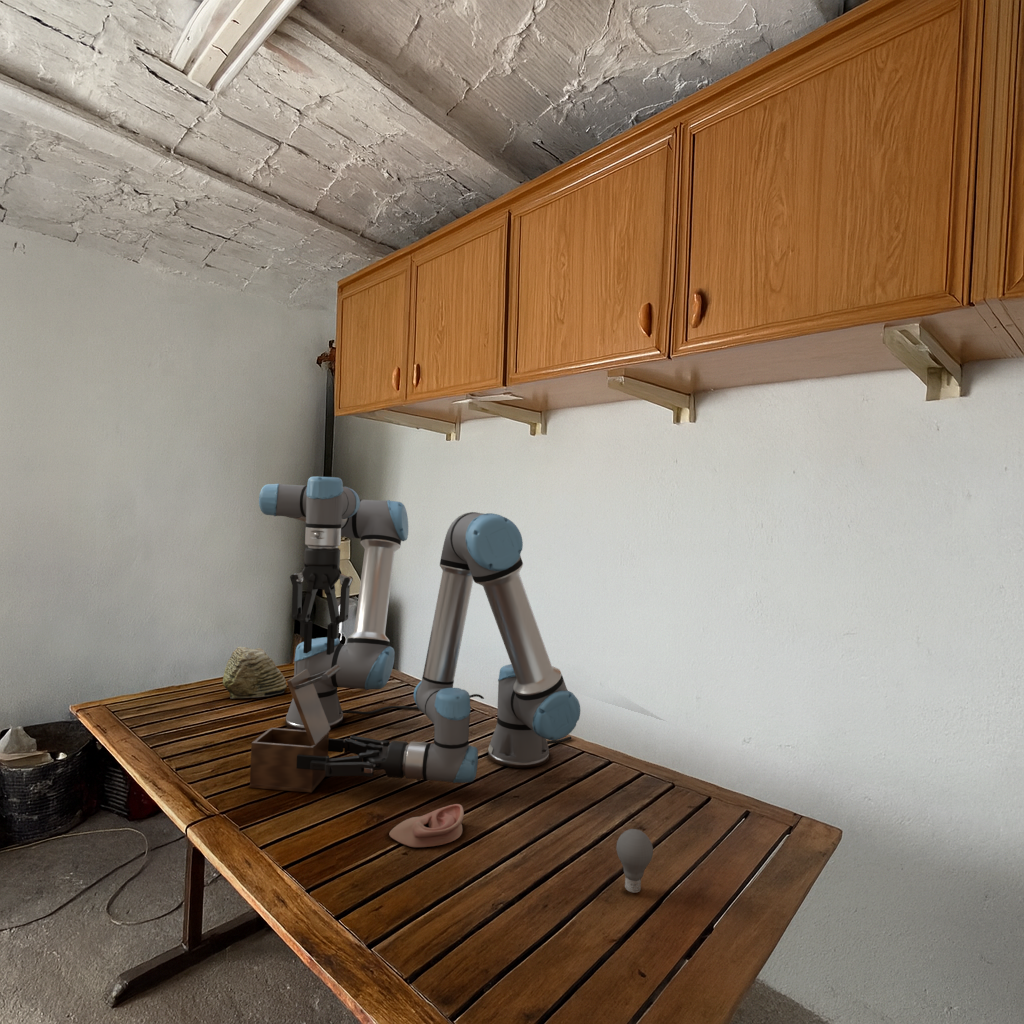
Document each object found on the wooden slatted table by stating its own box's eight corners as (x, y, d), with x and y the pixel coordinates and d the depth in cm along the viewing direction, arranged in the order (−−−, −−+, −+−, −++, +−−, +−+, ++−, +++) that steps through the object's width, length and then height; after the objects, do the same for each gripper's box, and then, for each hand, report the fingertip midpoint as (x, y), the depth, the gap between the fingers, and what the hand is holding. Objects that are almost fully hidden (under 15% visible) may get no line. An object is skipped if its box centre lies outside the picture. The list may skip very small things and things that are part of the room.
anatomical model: (383, 821, 117) (406, 793, 128) (382, 842, 117) (405, 813, 128) (452, 832, 114) (469, 802, 125) (451, 853, 114) (468, 822, 125)
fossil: (218, 695, 195) (220, 647, 195) (278, 685, 208) (279, 640, 207) (228, 703, 189) (230, 653, 188) (289, 692, 201) (290, 645, 201)
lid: (286, 681, 135) (322, 667, 135) (303, 670, 144) (337, 657, 144) (311, 745, 135) (347, 732, 135) (327, 730, 144) (361, 717, 144)
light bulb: (610, 879, 108) (613, 822, 108) (644, 879, 109) (647, 822, 109) (619, 902, 102) (622, 840, 102) (655, 901, 103) (658, 840, 103)
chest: (249, 787, 136) (251, 742, 136) (269, 769, 146) (270, 727, 145) (311, 792, 135) (313, 747, 135) (327, 774, 144) (329, 732, 144)
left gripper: (276, 546, 136) (272, 654, 136) (356, 550, 135) (352, 659, 135) (291, 543, 143) (287, 646, 144) (367, 547, 142) (363, 650, 143)
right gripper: (392, 800, 128) (284, 791, 129) (417, 756, 149) (324, 749, 151) (394, 763, 127) (285, 755, 129) (418, 725, 149) (325, 718, 151)
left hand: (318, 652), depth 140 cm, fingers open, 4 cm apart
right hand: (306, 752), depth 140 cm, fingers closed on chest, 9 cm apart
